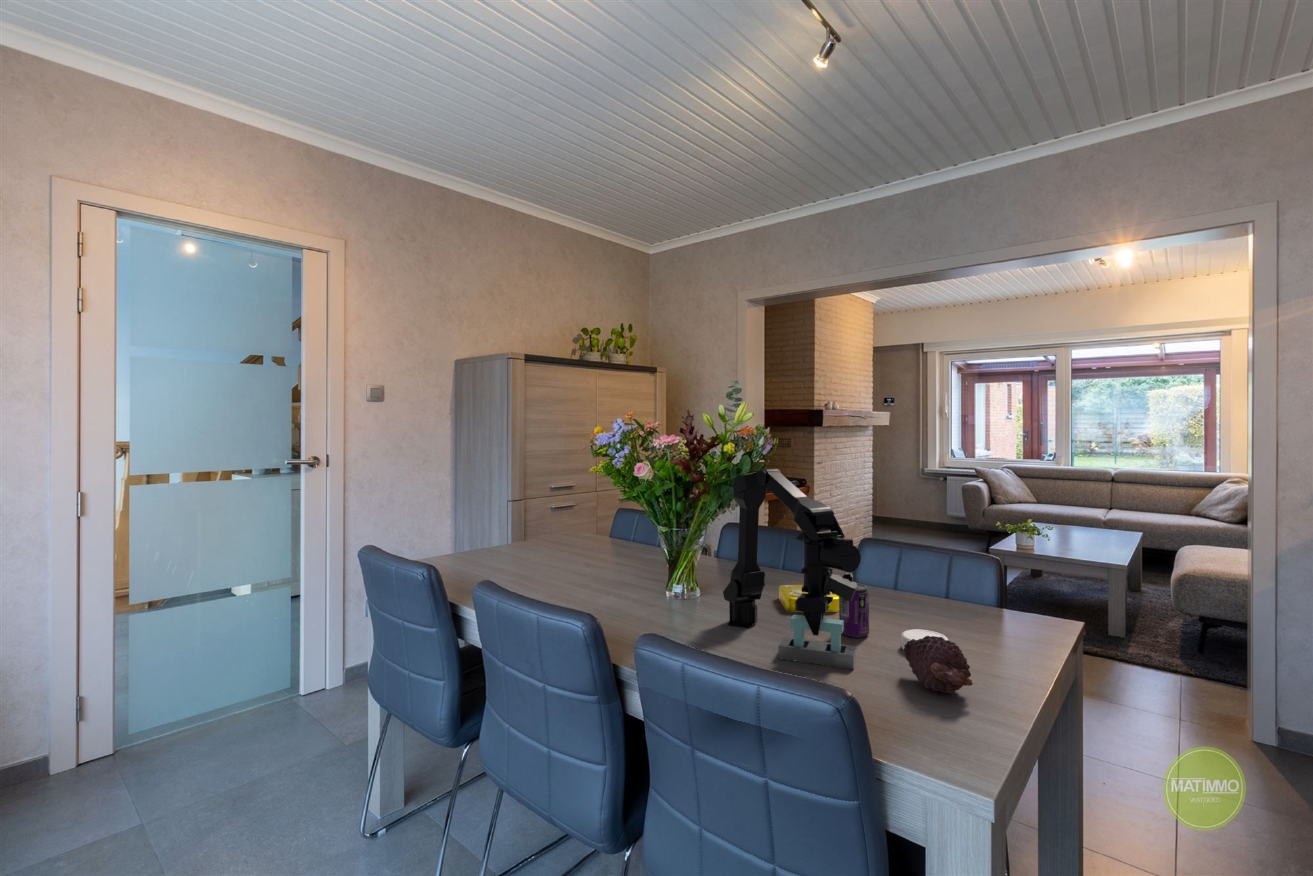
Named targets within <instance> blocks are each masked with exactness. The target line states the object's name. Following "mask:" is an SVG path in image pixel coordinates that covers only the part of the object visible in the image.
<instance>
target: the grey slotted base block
mask: <svg viewBox="0 0 1313 876" xmlns="http://www.w3.org/2000/svg"><path fill="white" fill-rule="evenodd" d="M777 652H778V654H777V655H778V658H783V659H788V660H787V661H789V660H796V661H801V662H800V663H803V662H808V663H807V664H810V663H813V664H812V665H817V664H821V665H820V666H824V665H826V666H825V667H831V666H834V667H833V668H839V669H844V668H846V670H851V669H853V670H855V666H856V661H857V646H856V645H849V644H842V643H841V650H840V653H839V652H832V651H831V642H825V641H818V640H811V639H804V646H803V648H802V647H795V646H794V637H788V636H783V638H782V639H781V641H780V642H779V644H778V651H777ZM778 658H777V659H778ZM796 661H795V662H796ZM853 670H852V671H853Z"/></svg>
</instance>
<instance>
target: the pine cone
mask: <svg viewBox="0 0 1313 876" xmlns="http://www.w3.org/2000/svg"><path fill="white" fill-rule="evenodd" d="M904 647H905V648H904V650H903V651H904V653H905V660H906V661H907V662H908V666H909V667H910V668H911V669H912V670H911V672H912V674H913V675H915V676H916V679H917V681H918V682H919V683H921V684H923V685H924V687H925V688H926V689H932V690H933V691H934V692H940V693H945V694H946V693H947V694H952V695H953V693H956V691H959V690H960V689H962V688H963V687H964V686H965V687H966V686H969V687H970V686H973V684H974V683H973V680H972V679H970V677H971V676H972V673H971V671H970V670H969V669H970V668H971V666H970V665H969V664H968V660H967V658H966V657H965V656H964V653H963V650H961V648H960V646H959V645H957V644H956V643H955V642H953V641H951V640H949V639H948V640H945V639H944V638H942V637H934V636H931V637H930V636H925V637H924V638H923V639H918V640H915V639H912V640H911V641H908V642H907V644H905V645H904Z"/></svg>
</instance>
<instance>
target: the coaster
mask: <svg viewBox="0 0 1313 876" xmlns="http://www.w3.org/2000/svg"><path fill="white" fill-rule="evenodd" d="M925 636H930V637H931V636H934V637H942V638H944V639H945V640H949V638H948V637H946V636H945V634H943V633H940V632H936V631H933V630H929V629H928V630H927V629H917V628H916V629H907V630H905V631H903V632H902V633H901V635H900V637H901V641H900V642H901V644H900V645H901V646H900V647H901V648H902V649H901V650H903V651H904V648H905V647H904V645H905V644H907V642H908V641H911V640H912V639H915V640H918V639H923V638H924V637H925Z"/></svg>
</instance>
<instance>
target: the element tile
mask: <svg viewBox="0 0 1313 876" xmlns="http://www.w3.org/2000/svg"><path fill="white" fill-rule="evenodd" d="M802 586H803V584H781V585H779V586H778V600H779V602H780V603H781V605H782V607H783V608H784V610H785V611H786V612H788V613H792V612H794V613H793V614H795V612H802V611H797V610H795V601H796V599H797V598H798V597H799V596H800V595H801V594H802V593H806V594H808V592H802ZM827 596H828V597H833V600H832V602H830V603H829V604H828V606H829V608H828V610H827V611H826V612H836V613H838V612H837V611H839V596H838V595H835V594H832V593H831V592H830V595H827Z"/></svg>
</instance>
